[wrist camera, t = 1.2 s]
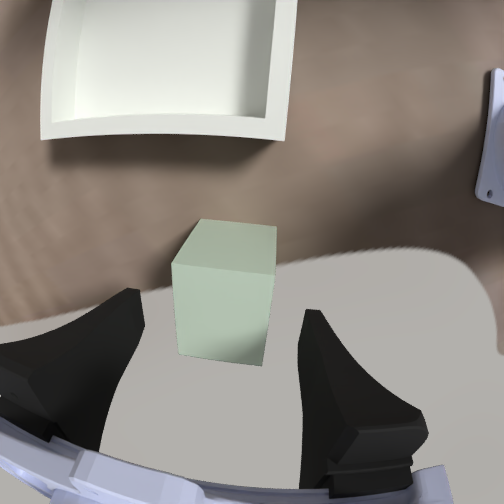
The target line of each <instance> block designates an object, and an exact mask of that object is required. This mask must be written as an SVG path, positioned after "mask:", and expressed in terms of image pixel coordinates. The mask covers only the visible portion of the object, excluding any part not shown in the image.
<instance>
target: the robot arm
mask: <svg viewBox="0 0 504 504" xmlns="http://www.w3.org/2000/svg"><path fill="white" fill-rule="evenodd" d="M503 77H504V71H503V70H502V69H499V68H494V69H493V70H492V71H491V86H490V100H489V111H488V120H487V128H486V135H485V142H484V148H483V154H482V159H481V164H480V169H479V174H478V179H477V183H476V188H475V195H476V197H477V198H479V199H480V200H482V201H486V202H489V203H492V204H496V205H499V206H502V207H504V80H503ZM488 191H489V195H488V196H487V192H488ZM144 327H145V322H144V315H143V309H142V303H141V296H140V290H139V289H132V288H126V289H124V290H123V291H121V292H119V293H118V294H116V295H115V296H113V297H112V298H110V299H109V300H107V301H105V302H104V303H102V304H101V305H99V306H98V307H96V308H95V309H93V310H91V311H90V312H88V313H86V314H85V315H83V316H81V317H79V318H78V319H76V320H74V321H72V322H70V323H68V324H66V325H64V326H62V327H59V328H57V329H55V330H52V331H49V332H47V333H44V334H42V335H38V336H35V337H32V338H28V339H25V340H20V341H16V342H10V343H4V344H0V395H1V397H0V467H1V468H3V469H4V470H6V471H7V472H9V473H10V474H11V475H13V476H14V477H16V478H18V479H19V480H20V481H22V482H23V483H25V484H27V485H28V486H30V487H31V488H33V489H35V490H36V491H38V492H40V493H41V494H43V495H44V496H46V497H48V498H50V499H51V501H50V503H49V504H454V503H453V498H452V494H451V490H450V486H449V482H448V478H447V475H446V471H445V467H444V465H438V466H434V467H430V468H425V469H421V470H417V471H415V472H413V473H411V469H410V466H412V465H413V460H412V455H413V454H414V453H415V452H416V451H417V450H418V449H419V448H420V446H421V445H422V444H423V443H424V442H425V440H426V439H427V437H428V434H429V432H428V429H427V426H426V422H425V419H424V417H423V414H422V412H421V410H419V409H417V408H416V407H414V406H412V405H410V404H408V403H407V402H405V401H403V400H402V399H400V398H399V397H397V396H395V395H394V394H393V393H391V392H390V391H389V390H387V389H386V388H385V387H383V386H382V385H381V384H380V383H378V382H377V381H376V380H375V379H374V378H373V377H371V376H370V375H369V374H368V373H367V372H366V371H365V370H364V369H363V368H362V367H361V366H360V365H359V364H358V363H357V362H356V360H354V358H353V357H352V356H351V354H350V353H349V352H348V351H347V349H346V348H345V347H344V345H343V344H342V343H341V341H340V340H339V338H338V337H337V336H336V334H335V333H334V331H333V330H332V328H331V327H330V325H329V323H328V322H327V320H326V319H325V317H324V315H323V314H322V312H321V311H320V310H311V309H306V310H305V315H304V320H303V325H302V329H301V333H300V337H299V342H298V372H299V382H300V391H301V400H302V411H303V432H302V456H301V457H302V458H301V471H300V482H299V489H273V488H272V489H271V488H256V487H244V486H234V485H226V484H219V483H211V482H206V481H200V480H194V479H188V478H184V477H182V476H178V475H175V474H172V473H168V472H164V471H160V470H156V469H152V468H148V467H144V466H141V465H137V464H134V463H130V462H127V461H123V460H121V459H117V458H114V457H111V456H108V455H105V454H103V453H100V452H99V448H100V443H101V438H102V433H103V430H104V426H105V422H106V418H107V415H108V411H109V408H110V405H111V402H112V399H113V396H114V393H115V390H116V388H117V385H118V383H119V381H120V379H121V377H122V375H123V373H124V371H125V369H126V367H127V365H128V363H129V361H130V359H131V358H132V356H133V354H134V352H135V350H136V348H137V346H138V344H139V341H140V339H141V336H142V333H143V330H144Z"/></svg>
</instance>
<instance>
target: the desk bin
mask: <svg viewBox="0 0 504 504" xmlns="http://www.w3.org/2000/svg"><path fill="white" fill-rule="evenodd" d="M296 12H297V0H53V1H52V6H51V11H50V16H49V22H48V28H47V35H46V42H45V49H44V58H43V69H42V83H41V111H40V126H41V140H47V139H56V138H67V137H79V136H94V135H114V134H198V135H219V136H234V137H247V138H259V139H269V140H279V141H284V140H285V131H286V121H287V111H288V101H289V91H290V80H291V70H292V59H293V48H294V36H295V25H296Z"/></svg>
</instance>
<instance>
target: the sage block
mask: <svg viewBox="0 0 504 504" xmlns="http://www.w3.org/2000/svg"><path fill="white" fill-rule="evenodd" d="M276 238H277V227H276V226H267V225H257V224H248V223H238V222H229V221H219V220H208V219H200V221H199V222H198V224H197V225H196V226H195V228H194V229H193V231H192V232H191V234H190V235H189V237H188V238H187V240H186V241H185V243H184V245H183V246H182V248H181V249H180V251H179V252H178V254H177V255H176V257H175V258H174V260H173V261H172V263H171V266H172V284H173V298H174V312H175V323H176V334H177V345H178V354H179V355H185V356H191V357H197V358H203V359H210V360H217V361H224V362H231V363H240V364H247V365H256V366H262V362H263V355H264V350H265V342H266V336H267V330H268V323H269V317H270V309H271V303H272V296H273V289H274V282H275V272H276Z"/></svg>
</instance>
